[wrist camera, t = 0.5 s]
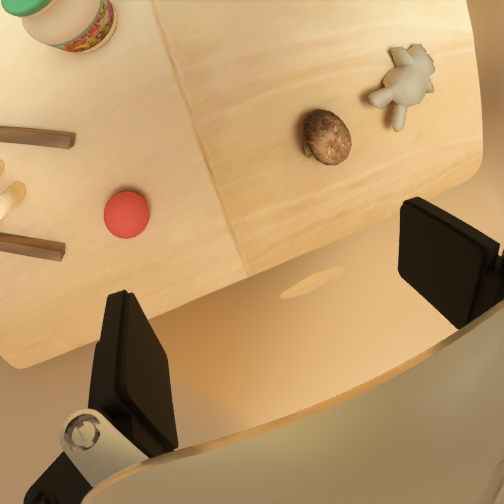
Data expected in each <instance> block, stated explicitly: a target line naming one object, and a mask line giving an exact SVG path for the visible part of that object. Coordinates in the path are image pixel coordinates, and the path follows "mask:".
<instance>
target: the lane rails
mask: <svg viewBox="0 0 504 504" xmlns="http://www.w3.org/2000/svg"><path fill="white" fill-rule="evenodd" d="M75 135H76V133H68V132H60V131H51V130H41V129H30V128H19V127H5V126H0V142H7V143H18V144H28V145H37V146H46V147H55V148H63V149H69V148H71V147H72V146H74V141H75ZM0 251H3V252H9V253H14V254H20V255H25V256H31V257H36V258H42V259H48V260H54V261H60V262H61V260H62V258H63V256H64V254H65V243H60V242H53V241H47V240H41V239H35V238H29V237H23V236H17V235H11V234H6V233H0Z"/></svg>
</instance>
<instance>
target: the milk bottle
mask: <svg viewBox="0 0 504 504" xmlns="http://www.w3.org/2000/svg"><path fill="white" fill-rule="evenodd" d="M1 3H2V6H3V8H4V9H5V11H6V12H8V13H10V14H12V15H14V16H18V17H20V18H22V22H23V25H24V28H25V30H26V31H27V32H28V34H29V35H30V36H31V37H33V38H34V39H35V40H37V41H39V42H41V43H44V44H46V45H49V46H52V47H56V48H59V49H62V50H66V51H69V52H72V53H79V54H82V53H88V52H92V51H94V50H96V49H98V48H100V47H101V46H102V45H104V44H105V43H106V42H107V41H108V40H109V38H110V37H111V36H112V34H113V32H114V30H115V27H116V22H117V16H116V12H115V9H114V8H113V6H112V4H111V3H110V1H109V0H1Z"/></svg>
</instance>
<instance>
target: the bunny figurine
mask: <svg viewBox="0 0 504 504" xmlns="http://www.w3.org/2000/svg"><path fill="white" fill-rule="evenodd" d="M391 54H392V57H393V59H394V62H395V65H396V67H395V68H393V69H392V70H390V71H389V72H388V73H387V74H386V76H385V77H384V80H383V84H384V86H385V88H382V89H379V90H377V91H374V92H372V93H370V94H369V96H368V101H369V103H370V104H371V105H372V106H374V107H376V108H379V109H382V108H384V107H385V106H386V105H387V104H389V103H390V102H391V101H392V100H393V101H394V102H395V103H397V104H398V107H397V110H396V114H395V117H394V121H393V125H392V127H393V130H394V131H395V132H399V131H401V130H403V129H404V126H405V119H406V110H407V107H410V106H413V105H416V104H419V103H420V102H421V101H422V100H423V98H424V96H425V94H426V93H434V87H433V85H432V82H431V80H430V78H429V75H431V74H433V73H434V72H435V67H434V65H433V62H434V61H433V60H432V58H431V57H430V55H429V54H426V50H425V49H424V47H423V46H422V45H421V44H415V45H414V46H413V47H411V48H409V49H407V50H405V49H404V48H403V47H395V48H393V49H392V50H391Z"/></svg>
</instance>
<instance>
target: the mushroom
mask: <svg viewBox="0 0 504 504" xmlns="http://www.w3.org/2000/svg"><path fill="white" fill-rule="evenodd" d="M303 134H304V137H305V140H304V152H305V155H306V156H307V157H310V156H312V155H314V157H315V158H316V160H318V161H320V162H321V163H323V164H325V165H338V164H339V163H341V162H342V161H344V160H345V159H346V158H347V157H348V155H349V152H350V149H351V136H350V133H349V131H348V128H347V127H346V125H345V124H344V123H343V121H342V120H341V119H340V118H339V117H338V116H336V115H335V114H334V113H332V112H330V111H326V110H320V109H319V110H315V111H313V112H311V113H309V114H308V115H307V116H306V118H305V120H304V123H303Z"/></svg>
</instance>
